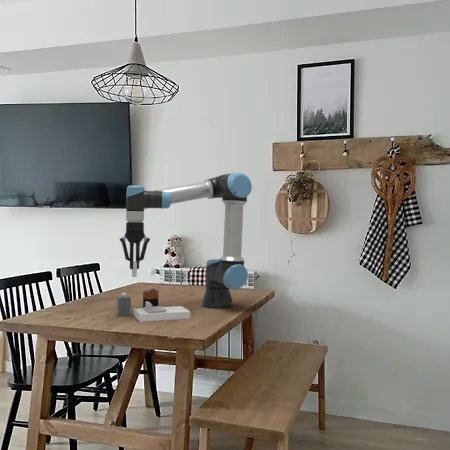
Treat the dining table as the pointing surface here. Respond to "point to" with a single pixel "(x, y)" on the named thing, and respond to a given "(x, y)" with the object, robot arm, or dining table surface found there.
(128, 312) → the plug
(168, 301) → the dining table surface
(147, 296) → the battery
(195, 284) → the dining table surface
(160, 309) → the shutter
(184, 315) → the faceplate
